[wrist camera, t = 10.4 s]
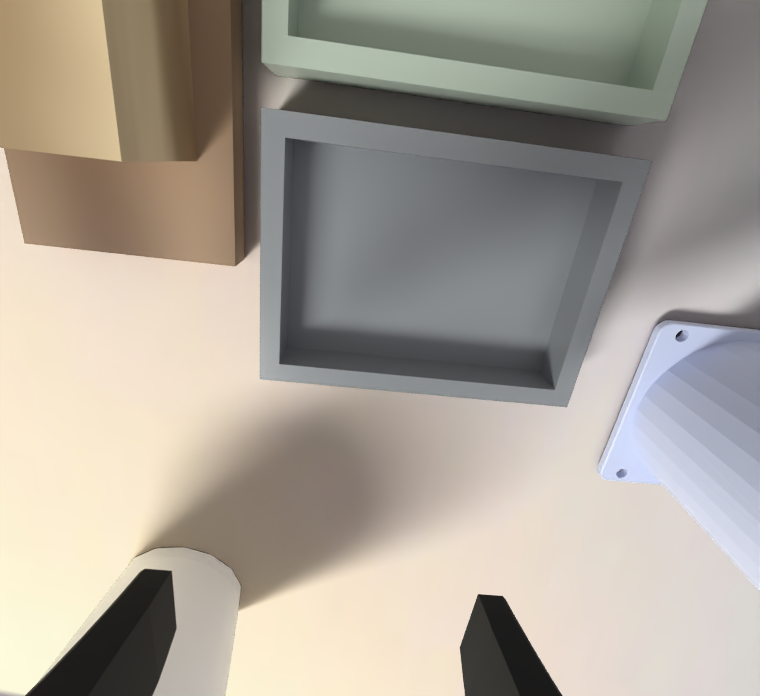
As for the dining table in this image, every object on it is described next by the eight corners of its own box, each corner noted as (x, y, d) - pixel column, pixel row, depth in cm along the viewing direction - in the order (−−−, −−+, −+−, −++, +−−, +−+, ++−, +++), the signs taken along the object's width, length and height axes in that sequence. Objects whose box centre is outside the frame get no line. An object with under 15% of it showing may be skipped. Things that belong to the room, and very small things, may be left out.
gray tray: (617, 160, 15) (652, 160, 13) (547, 382, 18) (567, 407, 17) (275, 114, 14) (261, 107, 12) (270, 356, 18) (259, 379, 16)
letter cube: (186, -22, 12) (86, -122, 7) (197, 161, 13) (121, 161, 9) (13, -47, 11) (-191, -167, 7) (48, 143, 13) (-99, 135, 9)
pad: (240, -143, 11) (226, -175, 10) (244, 259, 16) (235, 266, 15) (-34, -192, 11) (-78, -231, 10) (49, 237, 15) (24, 243, 14)
